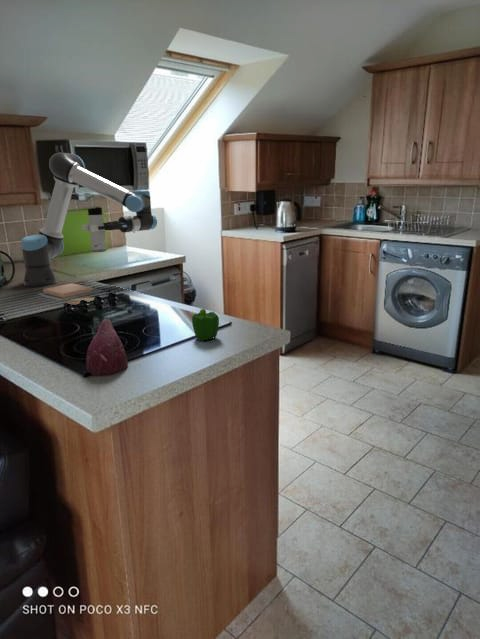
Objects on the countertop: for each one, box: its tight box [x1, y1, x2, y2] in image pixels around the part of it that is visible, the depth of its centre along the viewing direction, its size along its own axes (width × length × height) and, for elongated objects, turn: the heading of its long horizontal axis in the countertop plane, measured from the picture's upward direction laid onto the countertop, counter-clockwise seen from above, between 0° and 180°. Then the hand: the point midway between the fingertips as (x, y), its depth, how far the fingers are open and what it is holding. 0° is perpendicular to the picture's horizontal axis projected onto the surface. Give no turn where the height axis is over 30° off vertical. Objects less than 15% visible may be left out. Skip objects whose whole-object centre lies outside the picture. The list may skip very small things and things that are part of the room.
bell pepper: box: [191, 308, 220, 341], centre depth 142 cm, size 8×8×10 cm
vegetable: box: [85, 316, 129, 377], centre depth 122 cm, size 10×10×15 cm
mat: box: [36, 287, 105, 301], centre depth 208 cm, size 22×20×1 cm
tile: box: [43, 282, 92, 298], centre depth 206 cm, size 2×16×14 cm
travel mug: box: [87, 206, 107, 253], centre depth 212 cm, size 6×7×20 cm
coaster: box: [65, 296, 95, 306], centre depth 190 cm, size 12×12×1 cm
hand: (86, 228), depth 208 cm, fingers closed on travel mug, 6 cm apart
